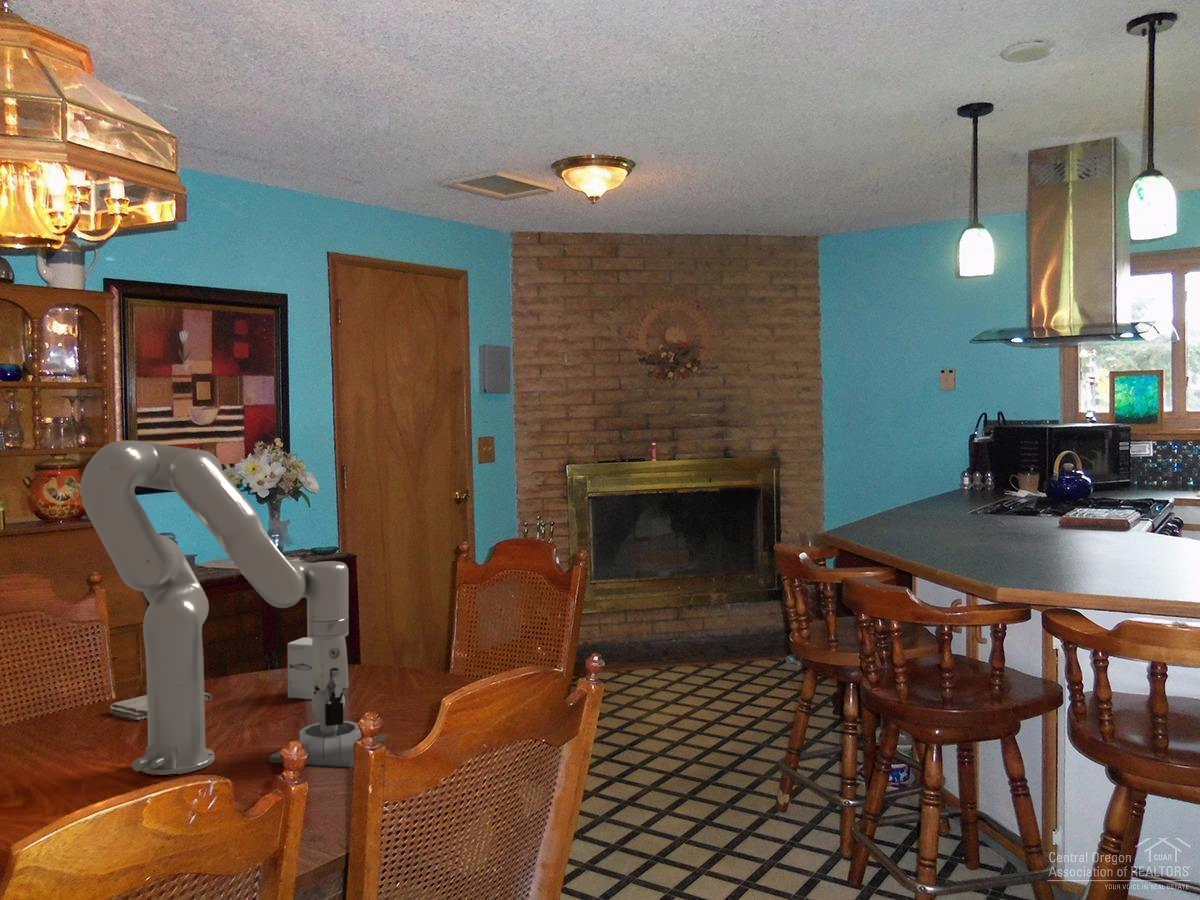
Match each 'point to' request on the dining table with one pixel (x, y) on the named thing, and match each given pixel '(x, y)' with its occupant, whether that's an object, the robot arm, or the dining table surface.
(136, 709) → the washcloth
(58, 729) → the dining table surface
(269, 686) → the dining table surface
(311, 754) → the duct collar
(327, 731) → the lightbulb
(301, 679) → the supplement box
